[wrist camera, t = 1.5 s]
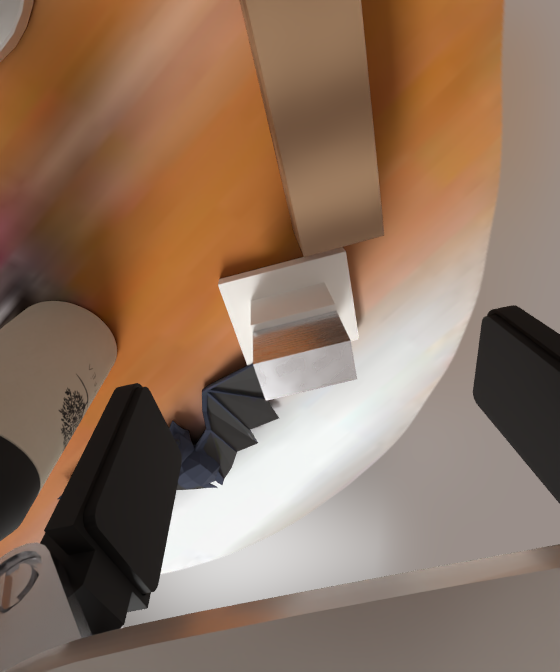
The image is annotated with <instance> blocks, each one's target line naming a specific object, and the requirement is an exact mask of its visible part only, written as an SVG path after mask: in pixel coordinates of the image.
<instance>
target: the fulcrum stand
mask: <svg viewBox="0 0 560 672" xmlns="http://www.w3.org/2000/svg"><path fill="white" fill-rule="evenodd" d="M218 286H219V289H220V291H221V294H222V297H223V300H224V302H225V305H226V308H227V311H228V313H229V316H230V319H231V322H232V324H233V327H234V330H235V333H236V335H237V338H238V341H239V344H240V346H241V349H242V352H243V355H244V357H245V360H246V363H247V366H248V365H250V364H252V363H253V366H254V369H255V372H256V374H257V377H258V380H259V383H260V386H261V389H262V391H263V394H264V397H265V400H266V401H267V400H272V399H276V398H280V397H284V396H288V395H293V394H297V393H301V392H305V391H309V390H314V389H318V388H322V387H326V386H330V385H334V384H339V383H343V382H347V381H351V380H355V379H357V376H356V370H355V364H354V358H353V352H352V346H351V341H354V340H358V339H359V336H358V329H357V322H356V316H355V309H354V302H353V296H352V289H351V282H350V276H349V269H348V262H347V256H346V251H345V250H344V248H343V247H340V248H336V249H333V250H329V251H325V252H322V253H318V254H314V255H311V256H307V257H301V258H298V259H294V260H290V261H286V262H282V263H279V264H275V265H271V266H267V267H263V268H260V269H256V270H252V271H248V272H244V273H240V274H237V275H233V276H229V277H225V278H221V279H219V283H218Z"/></svg>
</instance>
